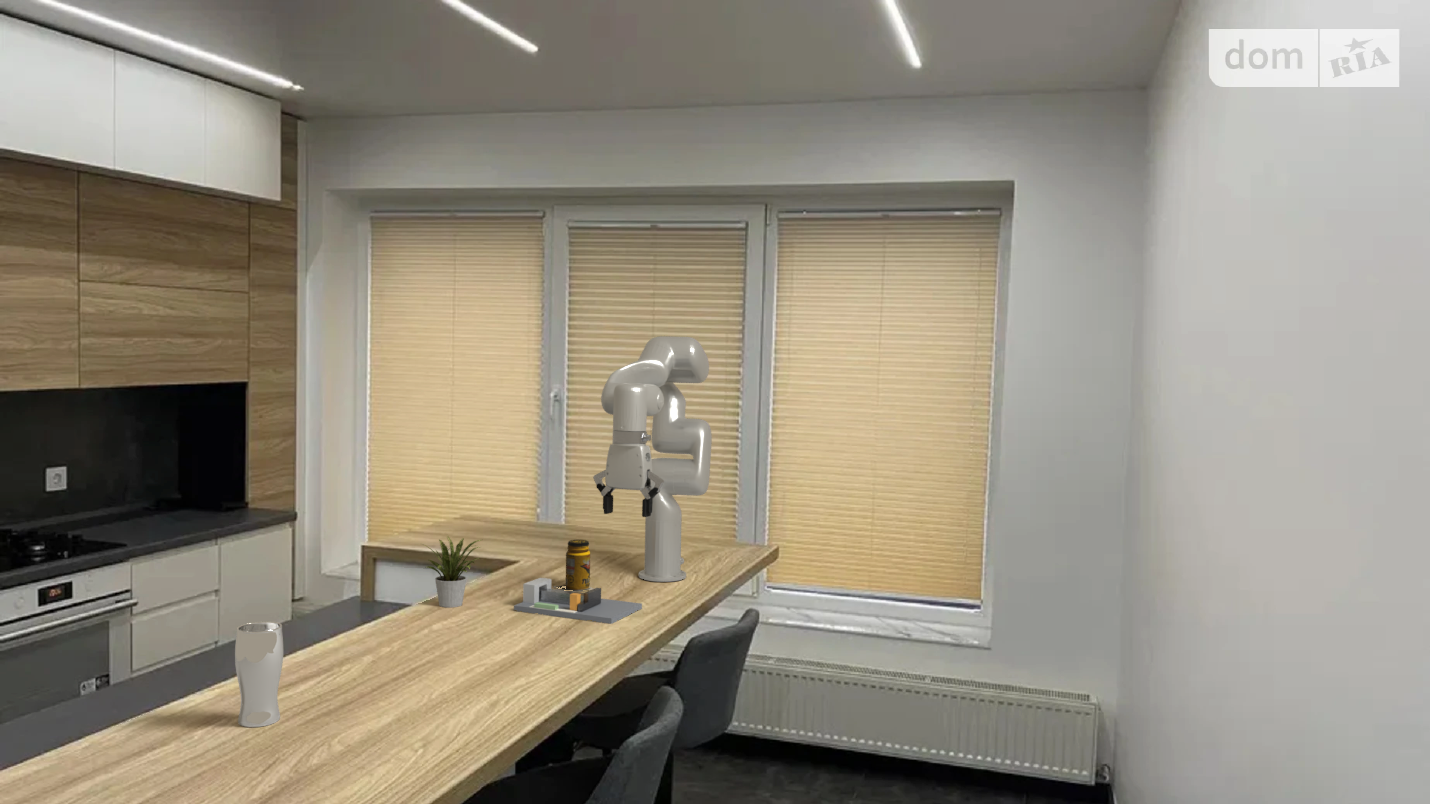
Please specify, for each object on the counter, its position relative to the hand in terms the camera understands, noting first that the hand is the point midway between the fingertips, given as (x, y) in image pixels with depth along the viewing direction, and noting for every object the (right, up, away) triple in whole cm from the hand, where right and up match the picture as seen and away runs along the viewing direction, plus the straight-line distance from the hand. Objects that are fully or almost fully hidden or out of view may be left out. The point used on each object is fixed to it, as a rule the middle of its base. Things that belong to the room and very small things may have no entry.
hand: (627, 514), depth 232 cm
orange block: (-12, -21, -1) cm, 24 cm away
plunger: (-15, -21, +4) cm, 26 cm away
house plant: (-40, -22, +6) cm, 46 cm away
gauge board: (-12, -22, +4) cm, 25 cm away
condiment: (-15, -22, +25) cm, 37 cm away
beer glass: (-52, -25, -70) cm, 91 cm away
